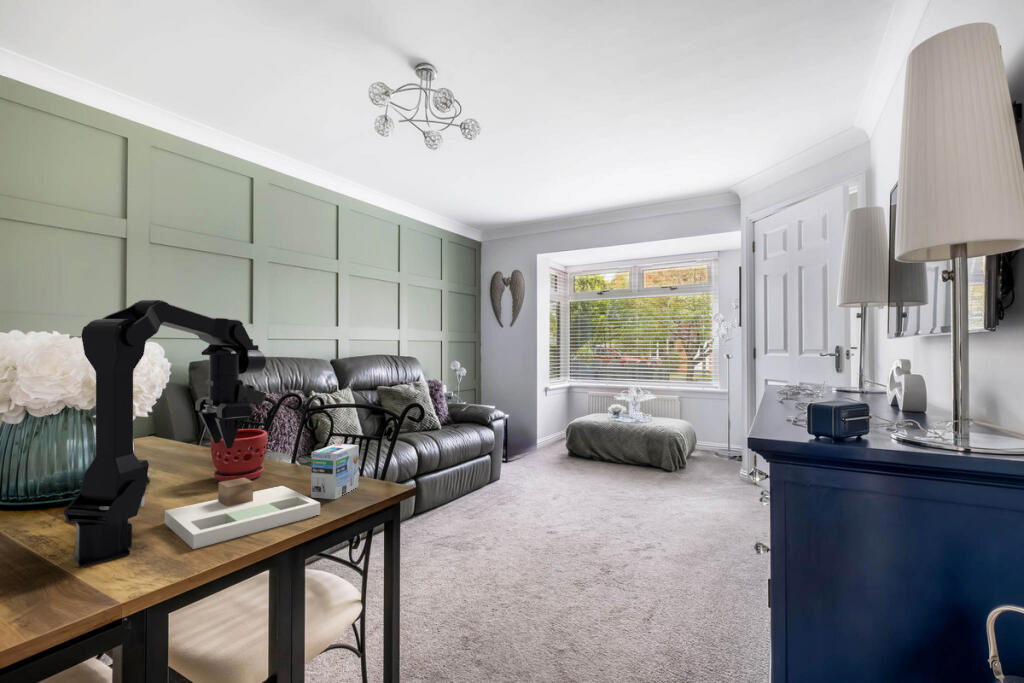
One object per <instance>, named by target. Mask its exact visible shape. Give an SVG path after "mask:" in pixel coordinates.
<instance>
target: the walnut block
mask: <svg viewBox="0 0 1024 683" xmlns="http://www.w3.org/2000/svg"><path fill="white" fill-rule="evenodd" d="M253 492H254V481H252V480H251V479H250V480H248V479H246V478H239V479H234V480H228V481H219V482H218V491H217V494H218V495H217V499H218V502H220V503H222V504H223V505H225V506H226V507H228V506H233V505H237V504H242V503H246V502H250V501H253Z"/></svg>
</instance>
